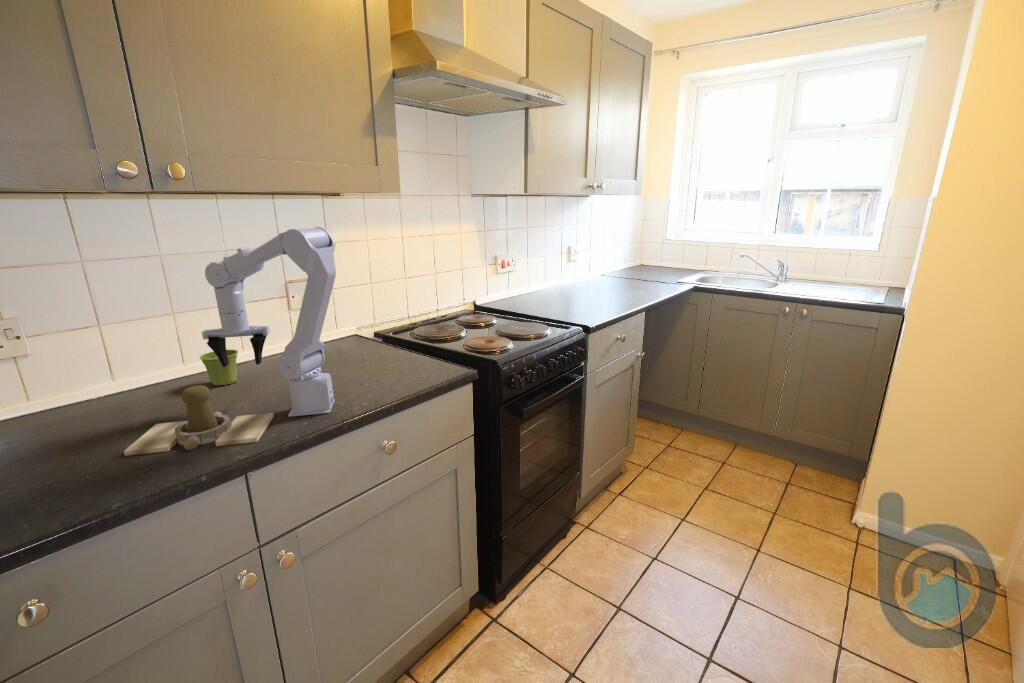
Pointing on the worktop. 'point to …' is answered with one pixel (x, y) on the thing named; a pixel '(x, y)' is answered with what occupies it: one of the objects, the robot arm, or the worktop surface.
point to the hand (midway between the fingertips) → (242, 364)
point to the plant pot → (220, 367)
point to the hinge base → (201, 434)
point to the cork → (199, 409)
